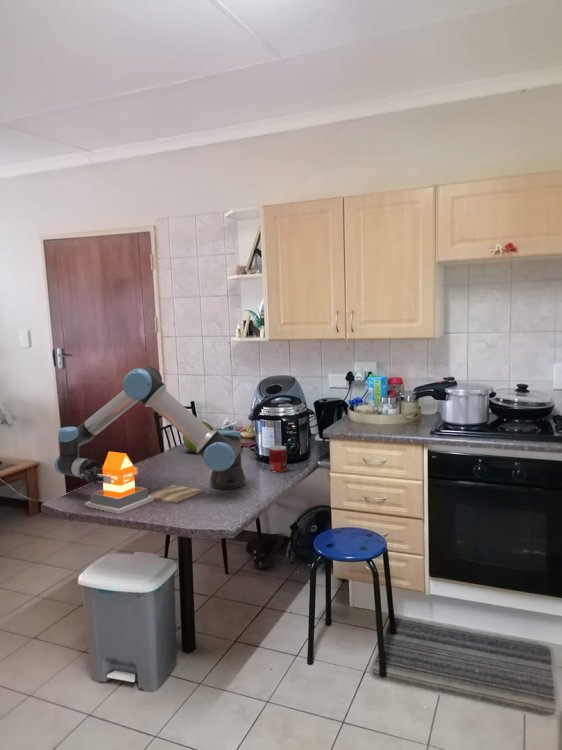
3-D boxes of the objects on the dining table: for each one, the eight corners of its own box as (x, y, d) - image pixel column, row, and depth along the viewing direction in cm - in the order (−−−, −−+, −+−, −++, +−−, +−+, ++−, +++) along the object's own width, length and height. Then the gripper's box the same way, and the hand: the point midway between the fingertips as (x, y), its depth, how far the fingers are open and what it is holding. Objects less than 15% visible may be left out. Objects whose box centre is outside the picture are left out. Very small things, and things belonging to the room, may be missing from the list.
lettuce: (208, 457, 315) (227, 434, 315) (198, 460, 292) (219, 436, 292) (186, 437, 317) (205, 415, 317) (174, 438, 294) (195, 414, 294)
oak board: (203, 492, 230) (203, 490, 230) (177, 503, 216) (177, 501, 216) (173, 487, 238) (173, 484, 238) (146, 497, 224) (146, 495, 224)
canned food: (285, 473, 256) (284, 449, 255) (267, 472, 258) (267, 449, 256) (288, 469, 263) (287, 445, 262) (271, 468, 265) (271, 445, 264)
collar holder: (153, 500, 221) (153, 487, 220) (118, 514, 206) (118, 501, 205) (120, 493, 230) (120, 481, 230) (85, 506, 215) (84, 493, 214)
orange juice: (118, 499, 223) (115, 449, 221) (135, 502, 219) (133, 451, 217) (103, 505, 216) (101, 453, 214) (121, 508, 212) (119, 455, 210)
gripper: (110, 470, 237) (148, 476, 226) (60, 486, 216) (98, 494, 205) (109, 452, 236) (147, 458, 225) (59, 466, 215) (97, 473, 204)
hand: (124, 475), depth 215 cm, fingers open, 13 cm apart
